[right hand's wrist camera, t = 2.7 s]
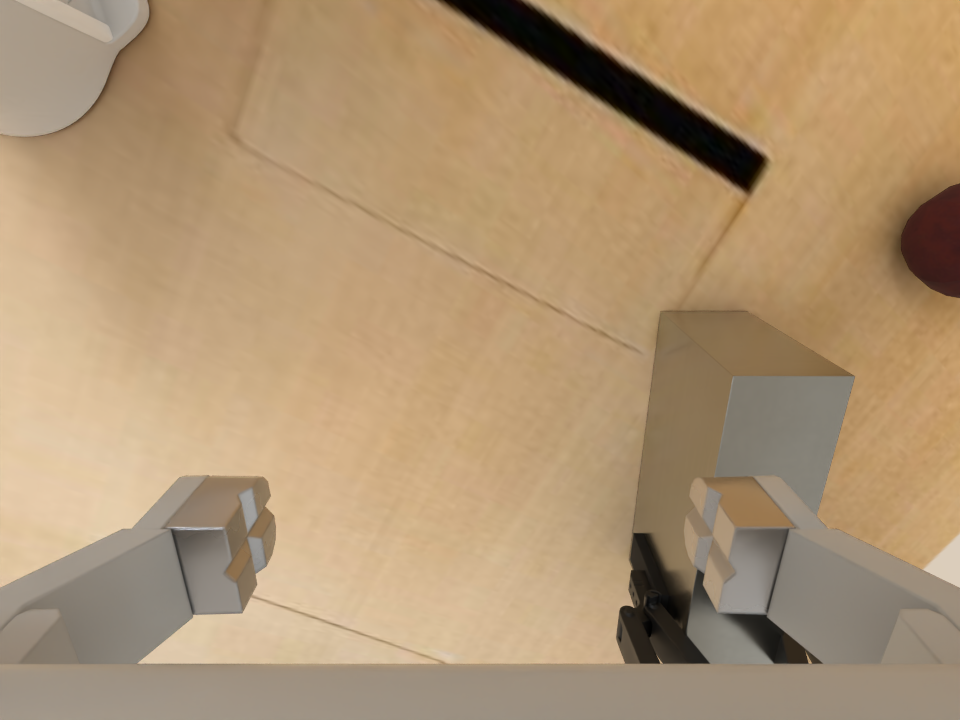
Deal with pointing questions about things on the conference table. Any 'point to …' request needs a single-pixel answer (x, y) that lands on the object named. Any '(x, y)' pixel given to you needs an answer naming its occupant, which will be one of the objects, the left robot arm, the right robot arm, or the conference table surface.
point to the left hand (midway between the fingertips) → (679, 546)
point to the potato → (935, 242)
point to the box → (729, 449)
